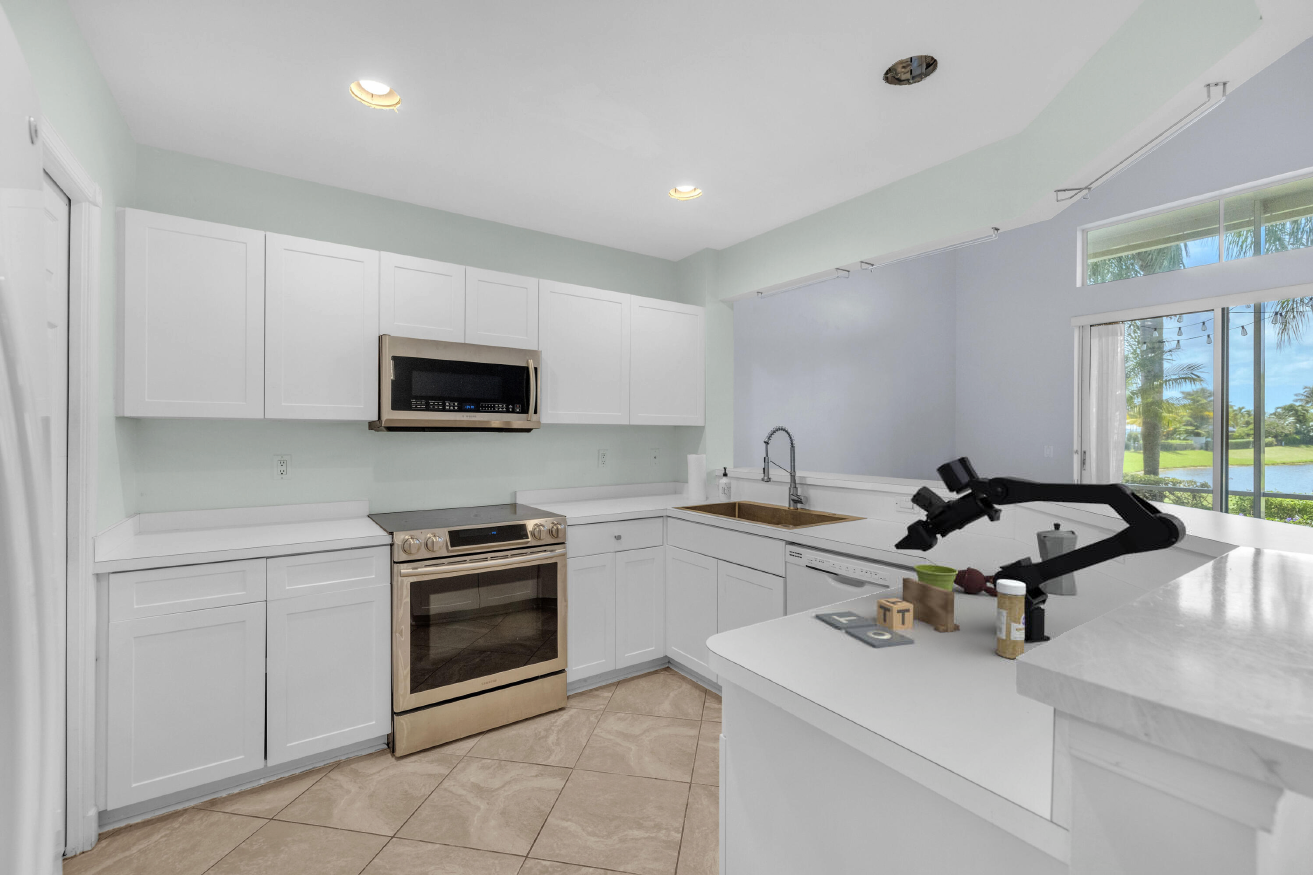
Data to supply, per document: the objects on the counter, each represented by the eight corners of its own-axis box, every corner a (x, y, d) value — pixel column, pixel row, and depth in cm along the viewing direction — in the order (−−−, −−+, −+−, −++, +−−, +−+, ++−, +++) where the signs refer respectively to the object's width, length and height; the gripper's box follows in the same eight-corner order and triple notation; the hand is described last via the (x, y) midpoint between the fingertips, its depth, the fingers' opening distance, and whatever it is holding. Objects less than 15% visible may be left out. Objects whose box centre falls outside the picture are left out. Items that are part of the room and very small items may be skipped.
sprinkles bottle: (1025, 661, 102) (1026, 585, 102) (995, 656, 104) (996, 582, 105) (1024, 653, 106) (1024, 580, 106) (995, 648, 108) (996, 577, 109)
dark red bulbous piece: (934, 566, 151) (999, 581, 141) (942, 555, 156) (1005, 569, 147) (933, 590, 153) (998, 606, 143) (941, 578, 158) (1004, 593, 148)
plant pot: (965, 611, 133) (965, 573, 133) (924, 610, 133) (924, 572, 133) (945, 600, 142) (946, 564, 142) (907, 599, 142) (907, 564, 142)
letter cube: (913, 628, 120) (913, 604, 120) (893, 630, 118) (893, 606, 118) (895, 621, 125) (896, 597, 125) (876, 623, 123) (876, 599, 123)
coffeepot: (1062, 598, 145) (1062, 526, 145) (1023, 589, 154) (1024, 522, 154) (1094, 591, 153) (1094, 523, 153) (1055, 583, 161) (1056, 519, 161)
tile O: (914, 643, 111) (914, 639, 111) (875, 647, 108) (875, 644, 108) (882, 628, 119) (882, 625, 119) (845, 632, 117) (845, 628, 117)
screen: (960, 630, 119) (961, 591, 119) (941, 632, 117) (941, 593, 117) (913, 612, 131) (914, 577, 131) (895, 614, 130) (896, 578, 130)
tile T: (877, 626, 121) (877, 623, 121) (840, 630, 118) (840, 626, 118) (849, 613, 129) (849, 610, 129) (815, 617, 127) (815, 614, 127)
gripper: (952, 470, 134) (897, 501, 144) (924, 490, 121) (866, 522, 131) (983, 512, 131) (925, 540, 141) (957, 536, 118) (895, 566, 128)
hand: (903, 541), depth 135 cm, fingers open, 9 cm apart
